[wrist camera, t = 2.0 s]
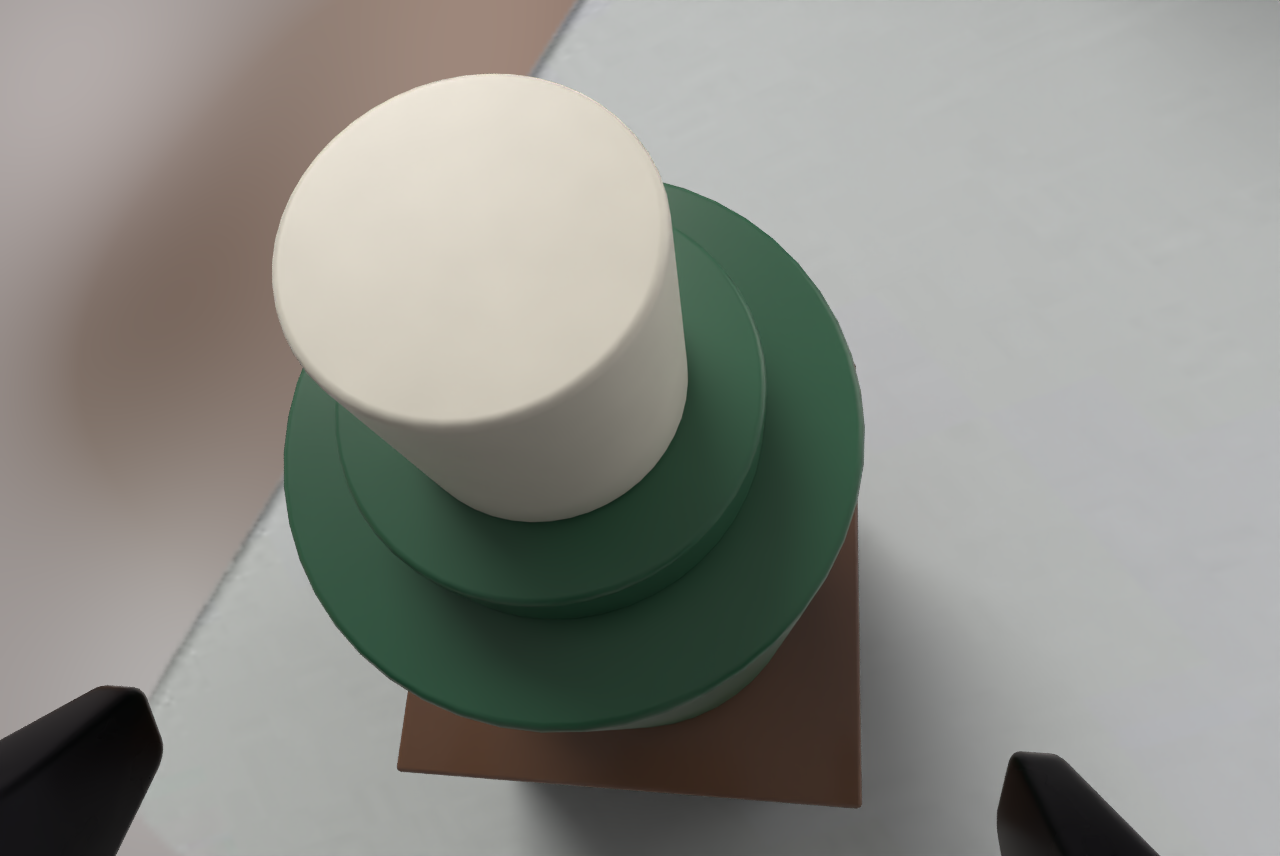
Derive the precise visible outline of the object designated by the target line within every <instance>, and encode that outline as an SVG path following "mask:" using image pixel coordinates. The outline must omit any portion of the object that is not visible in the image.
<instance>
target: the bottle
mask: <svg viewBox="0 0 1280 856" xmlns="http://www.w3.org/2000/svg"><path fill="white" fill-rule="evenodd" d="M272 286H273V292H274V299H275V305H276V311H277V315H278V318H279V321H280V324H281V328H282V331H283V334H284V336H285V338H286V340H287V342H288V344H289V346H290V348H291V350H292V352H293V354H294V356H295V357H296V358H297V360H298V361H299V363H300V364H301V365H302V367H303V369H302V372H301V374H300V377H299V380H298V382H297V385H296V389H295V393H294V397H293V401H292V404H291V408H290V412H289V416H288V423H287V431H286V439H285V447H284V490H285V497H286V504H287V511H288V518H289V524H290V528H291V531H292V535H293V538H294V542H295V545H296V549H297V552H298V555H299V559H300V562H301V564H302V566H303V568H304V571H305V573H306V575H307V577H308V579H309V582H310V584H311V586H312V588H313V590H314V593H315V595H316V596H317V598H318V599H319V601H320V602H321V604H322V606H323V607H324V609H325V610H326V612H327V613H328V615H329V616H330V618H331V620H332V621H333V623H334V624H335V626H336V627H337V628H338V629H339V630H340V631H341V633H342V634H343V635H344V636H345V637H346V638H347V639H348V641H349V642H350V643H351V644H352V645H353V646H354V648H355V649H356V650H357V651H358V652H359V653H360V654H361V655H362V656H363V657H364V658H365V659H367V660H368V661H369V662H370V663H371V664H372V665H374V666H375V667H376V668H377V669H378V670H379V671H381V672H382V673H383V674H384V675H385V676H386V677H388V678H389V679H390V680H392V681H393V682H395V683H396V684H398V685H400V686H401V687H403V688H404V689H406V690H408V691H409V692H411V693H412V694H414V695H416V696H417V697H419V698H420V699H422V700H424V701H426V702H428V703H431V704H433V705H435V706H437V707H440V708H442V709H444V710H447V711H449V712H451V713H453V714H456V715H458V716H460V717H464V718H468V719H471V720H475V721H479V722H482V723H486V724H489V725H493V726H497V727H501V728H509V729H517V730H525V731H533V732H541V733H545V732H589V731H604V730H619V729H634V728H649V727H656V726H663V725H669V724H675V723H678V722H681V721H684V720H688V719H691V718H694V717H697V716H699V715H701V714H703V713H706V712H708V711H710V710H712V709H714V708H716V707H718V706H719V705H721V704H723V703H724V702H726V701H727V700H729V699H730V698H732V697H733V696H735V695H736V694H738V693H739V692H740V691H741V690H742V689H743V688H745V687H746V686H747V685H748V684H749V683H750V682H752V681H753V680H754V679H755V677H756V676H757V675H758V674H759V673H760V672H761V671H762V670H763V668H764V667H765V666H766V665H767V664H768V663H769V661H770V660H771V658H772V657H773V656H774V654H775V653H776V651H777V650H778V648H779V647H780V645H781V644H782V643H783V641H784V640H785V638H786V637H787V635H788V634H789V632H790V631H791V630H792V628H793V627H794V625H795V624H796V622H797V621H798V620H799V618H800V617H801V615H802V614H803V612H804V611H805V609H806V608H807V606H808V605H809V603H810V602H811V600H812V599H813V597H814V596H815V594H816V593H817V591H818V590H819V589H820V587H821V586H822V584H823V583H824V581H825V580H826V578H827V576H828V574H829V572H830V570H831V568H832V566H833V564H834V562H835V560H836V558H837V556H838V554H839V552H840V549H841V547H842V545H843V543H844V541H845V538H846V535H847V532H848V529H849V526H850V523H851V520H852V517H853V514H854V510H855V507H856V504H857V499H858V494H859V488H860V482H861V477H862V471H863V465H864V435H865V425H864V416H863V407H862V398H861V389H860V386H859V382H858V378H857V374H856V370H855V366H854V362H853V358H852V355H851V352H850V350H849V347H848V345H847V342H846V340H845V337H844V335H843V333H842V330H841V328H840V325H839V323H838V321H837V319H836V318H835V316H834V314H833V312H832V311H831V309H830V307H829V305H828V304H827V302H826V300H825V299H824V297H823V295H822V293H821V292H820V290H819V289H818V288H817V287H816V285H815V284H814V283H813V282H812V280H811V279H810V278H809V276H808V275H807V274H806V273H805V271H804V270H803V269H802V267H801V266H800V265H799V264H798V263H797V262H796V261H795V260H794V259H793V258H792V257H791V256H790V255H789V254H788V253H787V252H786V251H785V250H784V249H783V248H782V247H781V246H780V245H779V244H778V243H777V242H776V241H775V240H774V239H773V238H771V237H770V236H769V235H767V234H766V233H765V232H763V231H762V230H761V229H759V228H758V227H757V226H755V225H754V224H753V223H751V222H750V221H749V220H747V219H746V218H744V217H742V216H741V215H739V214H737V213H735V212H734V211H732V210H730V209H728V208H727V207H725V206H723V205H721V204H720V203H718V202H716V201H713V200H711V199H709V198H706V197H704V196H701V195H699V194H697V193H694V192H692V191H689V190H687V189H684V188H681V187H677V186H673V185H670V184H666V183H663V182H662V179H661V176H660V174H659V171H658V169H657V168H656V166H655V164H654V162H653V160H652V158H651V156H650V155H649V153H648V151H647V150H646V149H645V147H644V146H643V145H642V143H641V142H640V141H639V139H638V138H637V137H636V135H635V134H634V133H633V132H632V131H631V130H630V129H629V128H628V127H627V126H626V125H625V124H624V123H623V122H622V121H621V120H620V119H619V118H618V117H617V116H615V115H614V114H613V113H611V112H610V111H609V110H607V109H606V108H605V107H603V106H602V105H601V104H599V103H598V102H596V101H594V100H592V99H591V98H589V97H587V96H585V95H583V94H582V93H580V92H578V91H575V90H573V89H570V88H568V87H565V86H563V85H560V84H558V83H554V82H550V81H546V80H542V79H539V78H535V77H527V76H520V75H513V74H479V75H467V76H460V77H455V78H450V79H444V80H440V81H436V82H433V83H430V84H426V85H423V86H420V87H417V88H414V89H412V90H409V91H407V92H405V93H402V94H400V95H397V96H395V97H393V98H391V99H389V100H387V101H386V102H384V103H382V104H380V105H378V106H376V107H375V108H373V109H371V110H370V111H368V112H367V113H366V114H364V115H363V116H361V117H360V118H358V119H357V120H355V121H354V122H352V123H351V124H350V125H349V126H348V127H347V128H345V129H344V130H343V131H342V132H341V133H339V134H338V135H337V136H336V137H335V138H334V139H333V140H332V141H331V142H330V143H329V144H328V145H327V146H326V147H325V148H324V149H323V150H322V151H321V153H319V155H318V156H317V157H316V158H315V160H314V161H313V162H312V164H311V165H310V166H309V168H308V169H307V170H306V172H305V173H304V174H303V176H302V177H301V179H300V181H299V183H298V184H297V186H296V188H295V189H294V191H293V193H292V195H291V197H290V199H289V201H288V204H287V206H286V208H285V211H284V213H283V215H282V218H281V221H280V225H279V229H278V232H277V236H276V239H275V246H274V253H273V260H272Z"/></svg>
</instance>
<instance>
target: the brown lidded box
mask: <svg viewBox="0 0 1280 856" xmlns="http://www.w3.org/2000/svg"><path fill="white" fill-rule="evenodd" d="M854 366H855V364H854ZM855 370H856V366H855ZM397 769H398V770H399V771H401V772H411V773H424V774H436V775H448V776H461V777H473V778H485V779H498V780H510V781H523V782H535V783H547V784H560V785H572V786H584V787H597V788H609V789H621V790H634V791H646V792H658V793H671V794H683V795H695V796H708V797H720V798H732V799H745V800H757V801H770V802H782V803H794V804H807V805H819V806H831V807H844V808H856V809H857V808H860V807H861V805H862V772H861V702H860V633H859V563H858V499H857V504H856V507H855V510H854V514H853V517H852V520H851V523H850V526H849V529H848V532H847V535H846V538H845V541H844V543H843V545H842V547H841V549H840V552H839V554H838V556H837V558H836V560H835V562H834V564H833V566H832V568H831V570H830V572H829V574H828V576H827V578H826V580H825V581H824V583H823V584H822V586H821V587H820V589H819V590H818V591H817V593H816V594H815V596H814V597H813V599H812V600H811V602H810V603H809V605H808V606H807V608H806V609H805V611H804V612H803V614H802V615H801V617H800V618H799V620H798V621H797V622H796V624H795V625H794V627H793V628H792V630H791V631H790V632H789V634H788V635H787V637H786V638H785V640H784V641H783V643H782V644H781V645H780V647H779V648H778V650H777V651H776V653H775V654H774V656H773V657H772V658H771V660H770V661H769V663H768V664H767V665H766V666H765V667H764V668H763V670H762V671H761V672H760V673H759V674H758V675H757V676H756V677H755V679H754V680H753V681H752V682H750V683H749V684H748V685H747V686H746V687H745V688H743V689H742V690H741V691H740V692H739V693H738V694H736V695H735V696H733V697H732V698H730V699H729V700H727V701H726V702H724V703H723V704H721V705H719V706H718V707H716V708H714V709H712V710H710V711H708V712H706V713H703V714H701V715H699V716H697V717H694V718H691V719H688V720H684V721H681V722H678V723H675V724H669V725H663V726H656V727H649V728H634V729H619V730H604V731H589V732H545V733H541V732H533V731H525V730H517V729H509V728H501V727H497V726H493V725H489V724H486V723H482V722H479V721H475V720H471V719H468V718H464V717H460V716H458V715H456V714H453V713H451V712H449V711H447V710H444V709H442V708H440V707H437V706H435V705H433V704H431V703H428V702H426V701H424V700H422V699H420V698H419V697H417V696H416V695H414V694H412V693H411V692H409V691H408V695H407V702H406V708H405V715H404V722H403V729H402V736H401V742H400V749H399V756H398V763H397Z"/></svg>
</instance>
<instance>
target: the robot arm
mask: <svg viewBox="0 0 1280 856" xmlns="http://www.w3.org/2000/svg"><path fill="white" fill-rule="evenodd" d="M162 754H163V742H162V738H161V735H160V733H159V730H158V727H157V725H156V722H155V719H154V716H153V714H152V711H151V708H150V705H149V703H148V700H147V698H146V696H145V694H144V693H143V692H142V691H141V690H140V689H138V688H135V687H123V686H122V687H121V686H108V685H107V686H100V687H97V688H95V689H93V690H91V691H89V692H87V693H85V694H84V695H82V696H80V697H78V698H77V699H74V700H73V701H71V702H69V703H67V704H65V705H63V706H62V707H60V708H58V709H56V710H54V711H53V712H51V713H49V714H47V715H45V716H43V717H42V718H40V719H38V720H36V721H34V722H32V723H31V724H29V725H27V726H25V727H23V728H21V729H20V730H18V731H16V732H14V733H12V734H10V735H9V736H7V737H5V738H3V739H1V740H0V856H116V854H117V852H118V850H119V848H120V846H121V844H122V842H123V840H124V837H125V835H126V833H127V831H128V829H129V827H130V825H131V823H132V821H133V819H134V817H135V815H136V813H137V811H138V809H139V807H140V805H141V803H142V801H143V799H144V797H145V795H146V792H147V790H148V788H149V786H150V784H151V782H152V780H153V778H154V776H155V774H156V772H157V770H158V768H159V765H160V762H161V759H162ZM997 833H998V839H999V845H1000V851H1001V856H1160V855H1159V854H1158V853H1157V852H1156V851H1155V850H1154V849H1153V848H1152V847H1151V846H1150V845H1149V844H1148V843H1147V842H1146V841H1145V840H1144V839H1143V838H1142V837H1141V836H1140V835H1139V834H1138V833H1137V832H1136V831H1135V830H1134V829H1133V828H1132V827H1131V826H1130V825H1129V824H1128V823H1127V822H1126V821H1125V820H1124V819H1123V818H1122V817H1121V816H1120V815H1119V814H1118V813H1117V812H1116V811H1115V810H1114V809H1113V808H1112V807H1111V806H1110V805H1109V804H1108V803H1107V802H1106V801H1105V800H1104V799H1103V798H1102V797H1101V796H1100V795H1099V794H1098V793H1097V792H1096V791H1095V790H1094V789H1093V788H1092V787H1091V786H1090V785H1089V784H1088V783H1087V782H1086V781H1085V780H1084V779H1083V778H1082V777H1081V776H1080V775H1079V774H1078V773H1077V772H1076V771H1075V770H1074V769H1073V768H1072V767H1071V766H1070V765H1069V764H1068V763H1067V762H1066V761H1065V760H1064V759H1062V758H1061V757H1059V756H1058V755H1055V754H1050V753H1036V752H1022V751H1020V752H1016V753H1014V754H1013V755H1012V756H1011V758H1010V760H1009V763H1008V767H1007V771H1006V775H1005V780H1004V784H1003V788H1002V792H1001V796H1000V801H999V805H998V810H997Z"/></svg>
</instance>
